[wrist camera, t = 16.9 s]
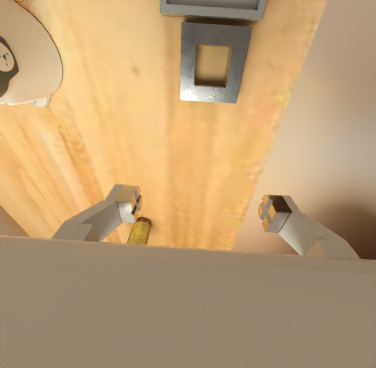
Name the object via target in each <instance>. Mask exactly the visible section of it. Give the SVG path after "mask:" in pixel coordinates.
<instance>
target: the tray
mask: <svg viewBox="0 0 376 368" xmlns="http://www.w3.org/2000/svg"><path fill="white" fill-rule="evenodd" d="M265 5H266V0H160V13H161V14H162V16H173V17H187V18H202V19H216V20H231V21H245V22H259V21H261V20H262V18H263V13H264V9H265Z"/></svg>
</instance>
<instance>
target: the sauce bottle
mask: <svg viewBox="0 0 376 368" xmlns="http://www.w3.org/2000/svg"><path fill="white" fill-rule="evenodd" d="M150 229H151V222H150V221H149V220H147V219H144V218H139V219H137V220H136V222H135V223H134V224H133V227H132V230H131V233H130V236H129V239H128V242H127V244H139V245H147V242H148V238H149V234H150Z"/></svg>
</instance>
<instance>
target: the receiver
mask: <svg viewBox="0 0 376 368" xmlns="http://www.w3.org/2000/svg"><path fill="white" fill-rule="evenodd" d="M251 31H252V27H246V26H231V25H217V24H202V23H188V22H182V35H181V78H180V100H192V101H207V102H222V103H236V102H237V97H238V92H239V88H240V83H241V78H242V73H243V69H244V64H245V59H246V55H247V50H248V45H249V40H250V36H251ZM196 45H202V46H217V47H229V54H228V60H227V66H226V72H225V79H224V85H210V84H195V83H194V75H195V59H196Z"/></svg>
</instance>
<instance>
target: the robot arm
mask: <svg viewBox="0 0 376 368" xmlns="http://www.w3.org/2000/svg"><path fill="white" fill-rule="evenodd" d="M61 81H62V64H61V60H60V56H59V54H58V51H57V49H56V46H55V44H54V43H53V41H52V39H51V37H50V36H49V34H48V33H47V31H46V30H45V29H44V27H43V26H42V25H41V24H40V23H39V22H38V21H37V19H35V18H34V17H33V16H32V15H31V14H30V13H29V12H28V11H26V10H25V9H24V8H22V7H21V6H20V5H18V4H17V3H16V2H15V1H14V0H0V104H8V105H18V104H23V103H27V104H31V105H35V106H39V107H47V106H48V105H49V103H50V99H51V95H52V94H53V93H54V92H55V91H56V90H57V89H58V88H59V86H60V84H61ZM140 191H141V190H140V187H139V186H133V185H121V184H116V185H114V187H113V188H112V190H111V192H110V193H109V195H108V196H107V198H106V199H105V201H101V202H99V203H97V204H95V205H93V206H92V207H90V208H88V209H86V210H84V211H83V212H81V213H79V214H77V215H75V216H74V217H72V218H70V219H68V220H67V221H65V222H64V223H63V224H62V225H61V227H60V228H59V229H58V230H57V232H56V233H55V234H54V235H53V237H52V238H51V239H48V238H33V237H18V236H3V235H2V236H1V235H0V368H376V260H363V259H360V258H359V257H358V256H357V254H356V253H355V252H354V250H353V249H352V248H351V247H350V246H349V244H348V243H347V242H346V241H345V240H344V239H342V238H341V237H339V236H338V235H336V234H334V233H333V232H332V231H330V230H328V229H327V228H325V227H324V226H322V225H321V224H319V223H318V222H316V221H314V220H313V219H311V218H310V217H308V216H307V215H305V214H302V213H301V211H300V210H299V208H298V207H297V205H296V204H295V203H294V201H293V200H292V198H291V197H290V196H286V195H279V196H278V195H264V196H263V198H262V200H263V202H262V203H261V204H260V205H259V210H258V213H259V216H260V218H261V219H262V220H263V222H262V224H263V227H264V229H265V232H275V233H279V234H280V235H281V236H282V237H283V238H284V239H285V240H286V241H287V242H288V243H289V244H290V245H291V246H292V247H293V248H294V249H295V250H296V251H297V252H298V253H299V254H300V255H289V254H288V255H287V254H274V253H258V252H244V251H229V250H214V249H199V248H184V247H169V246H154V245H139V244H124V243H109V242H101V241H102V240H103V239H104V238H106V237H107V236H108V235H109V234H110V233H111V232H112V231H114V230H115V229H116V228H117V227H118V226H119V225H120V224H122V222H124V223H135V222H136V220H137V217H138V211H139V210H140V209H141V205H142V196H141V195H140Z"/></svg>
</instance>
